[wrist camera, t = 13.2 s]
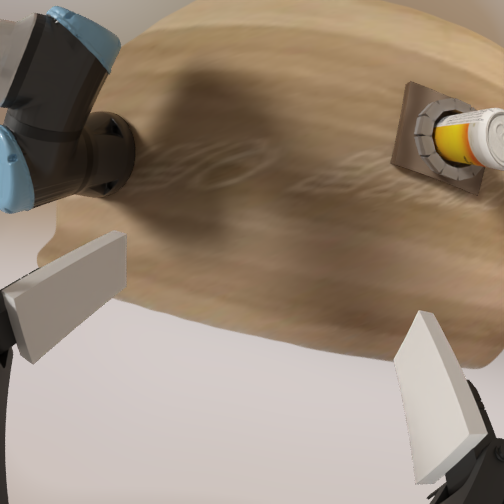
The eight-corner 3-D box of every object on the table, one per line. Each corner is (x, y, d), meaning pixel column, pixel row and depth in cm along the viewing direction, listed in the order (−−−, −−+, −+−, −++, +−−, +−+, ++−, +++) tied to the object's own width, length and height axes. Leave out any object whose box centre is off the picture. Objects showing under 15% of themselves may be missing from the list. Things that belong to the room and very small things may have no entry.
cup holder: (390, 163, 37) (400, 165, 32) (405, 84, 33) (417, 76, 28) (470, 192, 35) (487, 199, 30) (485, 119, 31) (503, 117, 26)
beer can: (449, 169, 33) (507, 185, 19) (421, 136, 33) (472, 133, 19) (473, 141, 31) (536, 145, 17) (446, 108, 30) (503, 94, 17)
